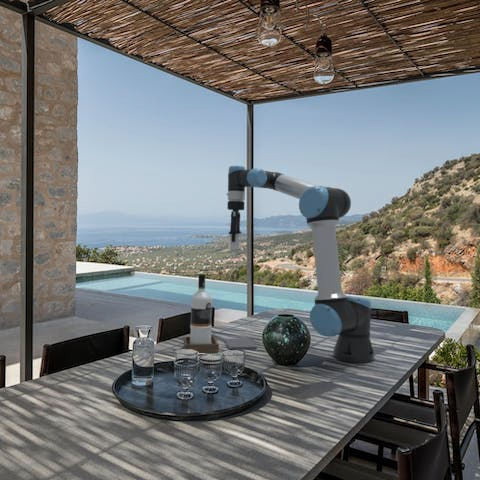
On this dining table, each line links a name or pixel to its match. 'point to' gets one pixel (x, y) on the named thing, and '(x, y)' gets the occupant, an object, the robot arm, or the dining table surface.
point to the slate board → (240, 344)
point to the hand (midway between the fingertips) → (234, 248)
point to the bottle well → (202, 346)
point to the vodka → (201, 315)
